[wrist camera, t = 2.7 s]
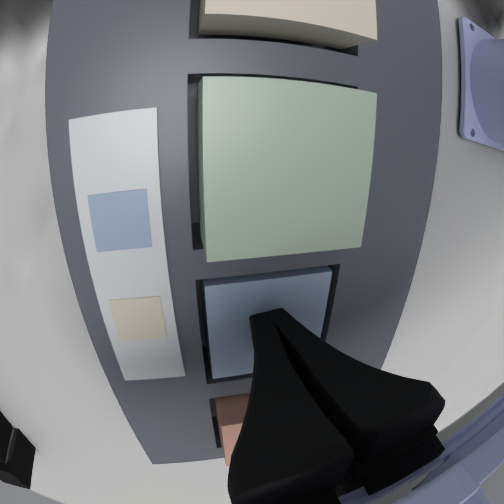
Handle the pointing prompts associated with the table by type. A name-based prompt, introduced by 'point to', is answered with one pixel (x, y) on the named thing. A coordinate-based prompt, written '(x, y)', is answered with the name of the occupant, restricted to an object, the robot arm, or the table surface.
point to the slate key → (257, 311)
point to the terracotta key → (230, 420)
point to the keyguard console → (186, 193)
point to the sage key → (282, 166)
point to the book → (15, 455)
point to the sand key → (292, 20)
